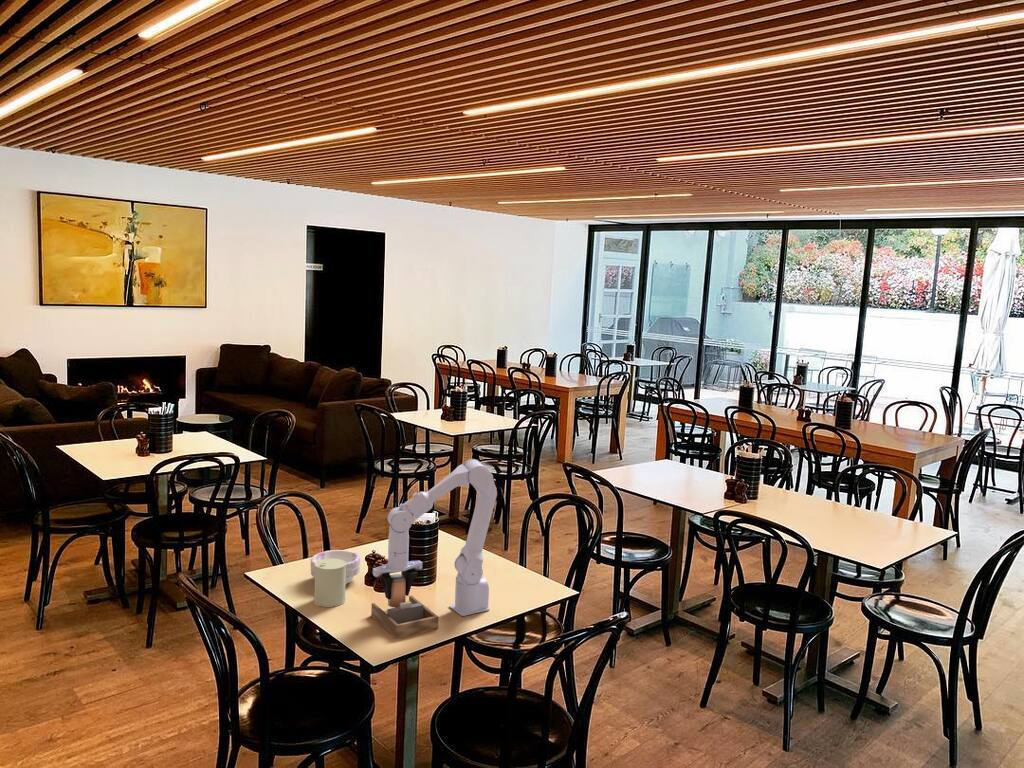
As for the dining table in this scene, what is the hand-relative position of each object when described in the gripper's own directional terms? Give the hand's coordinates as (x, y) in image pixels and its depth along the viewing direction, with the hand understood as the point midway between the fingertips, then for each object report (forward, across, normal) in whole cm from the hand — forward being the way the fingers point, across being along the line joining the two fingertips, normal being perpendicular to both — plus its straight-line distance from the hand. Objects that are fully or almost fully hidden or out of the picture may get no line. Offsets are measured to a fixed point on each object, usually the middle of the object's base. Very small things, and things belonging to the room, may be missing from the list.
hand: (397, 596), depth 230 cm
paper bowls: (+6, +6, -32) cm, 34 cm away
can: (+6, +13, -18) cm, 23 cm away
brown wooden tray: (+6, 0, +4) cm, 7 cm away
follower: (+5, 0, +5) cm, 7 cm away
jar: (+2, 0, 0) cm, 2 cm away
